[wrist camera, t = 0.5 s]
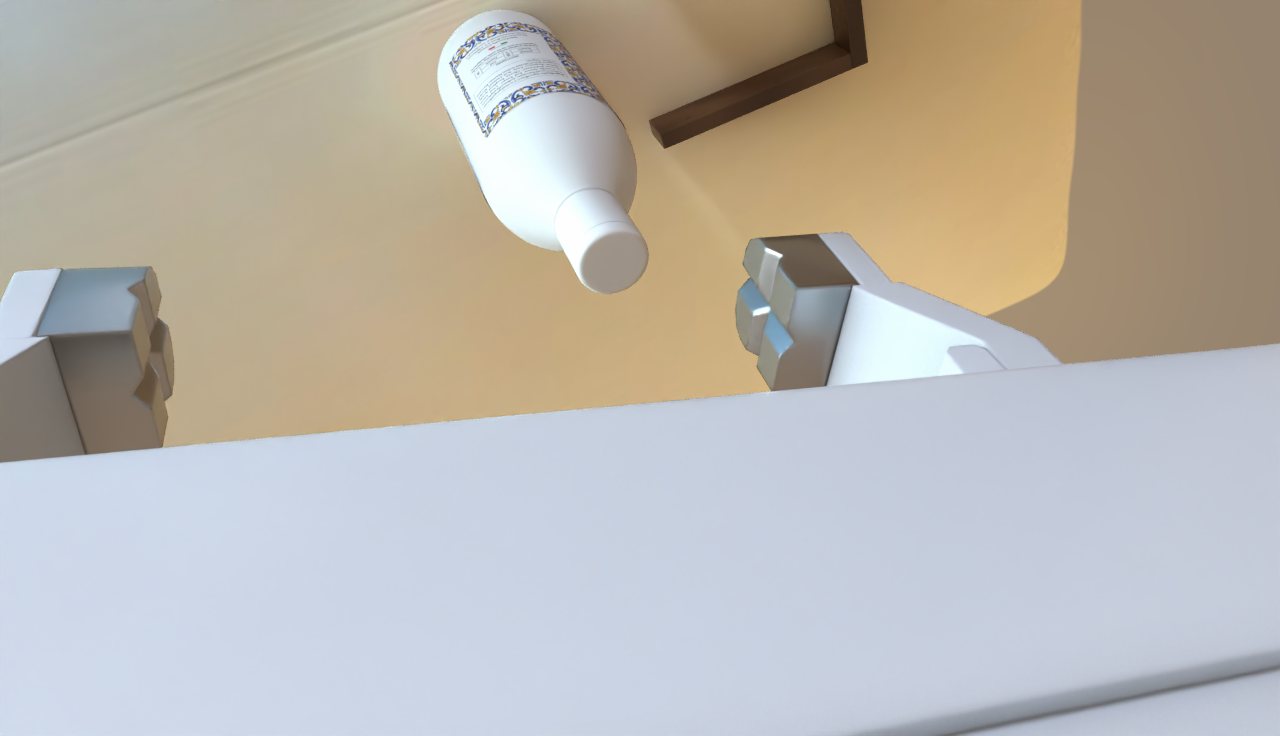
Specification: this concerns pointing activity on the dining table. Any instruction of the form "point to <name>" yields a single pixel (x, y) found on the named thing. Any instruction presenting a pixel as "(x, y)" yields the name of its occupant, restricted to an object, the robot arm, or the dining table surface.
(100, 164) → the dining table surface
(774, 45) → the dining table surface
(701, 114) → the stand
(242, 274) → the dining table surface
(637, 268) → the bath foam
